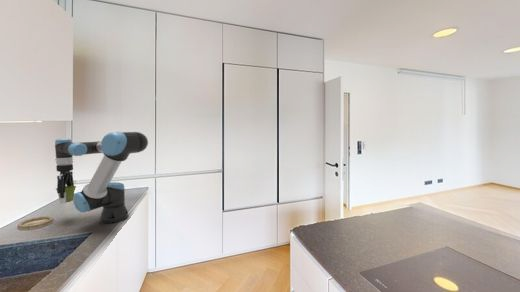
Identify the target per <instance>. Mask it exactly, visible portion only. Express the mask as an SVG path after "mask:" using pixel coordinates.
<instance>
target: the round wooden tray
mask: <svg viewBox="0 0 520 292" xmlns="http://www.w3.org/2000/svg"><path fill="white" fill-rule="evenodd" d="M53 222H54V216H50V215H45V216H44V215H43V216H37V217H32V218H28V219H24V220H22V221H20V222H18V223H17V229H18V230H21V231H30V230H34V229H35V230H36V229H41V228H44V227H47V226H49V225H51V224H53Z"/></svg>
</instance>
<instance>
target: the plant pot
mask: <svg viewBox="0 0 520 292" xmlns="http://www.w3.org/2000/svg"><path fill="white" fill-rule="evenodd" d="M76 188H77V186H76V185H74V186H67V185H66V187H65V192H66V203H70V202H73V196H74V194H75V190H76ZM55 190H56V191H57V187H56V188H55ZM57 194H58V198H59V200H58V201H60V194H59V193H57Z"/></svg>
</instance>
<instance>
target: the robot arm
mask: <svg viewBox="0 0 520 292" xmlns="http://www.w3.org/2000/svg"><path fill="white" fill-rule="evenodd" d="M148 145H149V140H148V138H147V136H146V135H145V134H144V133H142V132H139V131H124V132H123V131H122V132H121V131H114V132H108V133H106V134H105V135H104V136H103V138H102V139H101V140H98V141H86V142H85V141H84V142H73V141H72V139H71V138H57V139H55V140H54V147H55V148H54V149H55V161H56V163H55V164H56V166H55V168H56V171H57V172H58V173H59V175H56V176H57V177H56V179H57V185H56V188H57V190H56V192H57V194H58V193H59V194H60V200H59V204H66V203H67V202H66V192H65V187H66V186H75V184H74V183H75V182H74V177H73V170H74V164H73V162H74V161H73V160H74V159H73V156H75V157H80V156H81V157H82V156H83V155H84V156H85V155H91V154H92V155H93V154H94V155H95V154H103V157H102V159H101V161H100V162H99V164H98V167H97V168H96V171H95V172H94V174H93V175H92V178H91V180H90V182H89V183H87V184H86V185H84V186H83V188H82V189H81V191H78V192H74V196H73V201H72V202H73V205H74V208H75V209H76V210H77V211H78V212H80V213H86V212H91V211H94V210H96V209H100V208H102V210H101V212H100V216H99V222H100V223H101V224H113V223H112V222H115V223H119V222H122V221H124V220H126V219H127V218H128V217H129V212H128V209H127V207H126V204H125V203H126V200H125V195H126V194H125V191H126V190H125V189H126V188H125V184H124V183H122V182H115V181H114V182H113V181H112V179H113V178H114V176H115V175H116V173H117V171H118V168H119V167H120V166H121V164H122V162H125V161H126V160H127V159H128V157H129V156H130V154H136V153H138V154H139V153H141V152H143V151H145V150H146V149H147V147H148ZM111 181H112V182H111Z"/></svg>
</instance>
